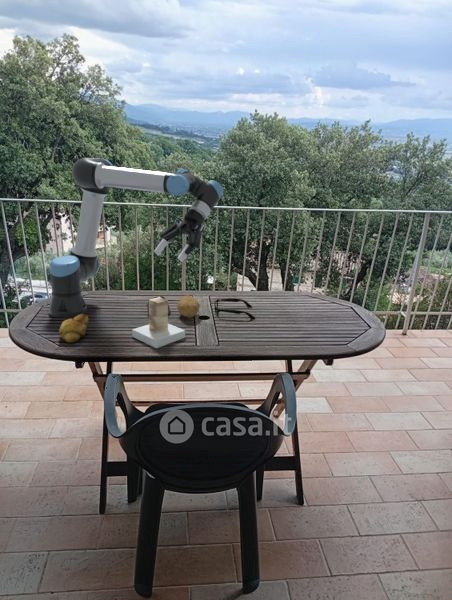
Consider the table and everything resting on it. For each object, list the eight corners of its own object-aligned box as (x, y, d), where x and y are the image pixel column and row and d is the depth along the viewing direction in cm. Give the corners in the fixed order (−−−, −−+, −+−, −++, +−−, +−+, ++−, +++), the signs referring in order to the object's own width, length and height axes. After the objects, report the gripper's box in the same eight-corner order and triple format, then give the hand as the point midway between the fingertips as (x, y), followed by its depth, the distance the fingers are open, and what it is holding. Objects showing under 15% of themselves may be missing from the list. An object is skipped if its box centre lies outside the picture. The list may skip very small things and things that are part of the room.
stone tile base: (132, 336, 160) (132, 329, 160) (161, 327, 171) (161, 320, 170) (156, 348, 152) (156, 340, 151) (184, 337, 162) (184, 330, 161)
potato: (176, 321, 177) (176, 303, 174) (177, 310, 190) (177, 293, 188) (199, 322, 178) (200, 304, 175) (199, 310, 191) (199, 293, 188)
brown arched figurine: (170, 317, 183) (161, 303, 179) (151, 324, 185) (142, 310, 181) (174, 302, 193) (165, 288, 189) (156, 309, 195) (147, 295, 191)
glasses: (214, 308, 199) (214, 298, 197) (251, 307, 199) (252, 297, 198) (214, 321, 183) (214, 310, 181) (255, 320, 184) (255, 309, 182)
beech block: (149, 329, 160) (148, 299, 156) (159, 326, 164) (159, 296, 160) (157, 333, 157) (157, 303, 153) (168, 330, 160) (168, 300, 157)
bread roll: (80, 345, 152) (78, 324, 149) (53, 344, 151) (51, 323, 149) (90, 331, 164) (89, 312, 161) (65, 330, 164) (64, 311, 161)
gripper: (224, 225, 162) (195, 269, 156) (180, 216, 178) (152, 256, 172) (215, 212, 157) (185, 257, 151) (171, 204, 172) (141, 245, 166)
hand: (167, 256), depth 161 cm, fingers open, 13 cm apart
